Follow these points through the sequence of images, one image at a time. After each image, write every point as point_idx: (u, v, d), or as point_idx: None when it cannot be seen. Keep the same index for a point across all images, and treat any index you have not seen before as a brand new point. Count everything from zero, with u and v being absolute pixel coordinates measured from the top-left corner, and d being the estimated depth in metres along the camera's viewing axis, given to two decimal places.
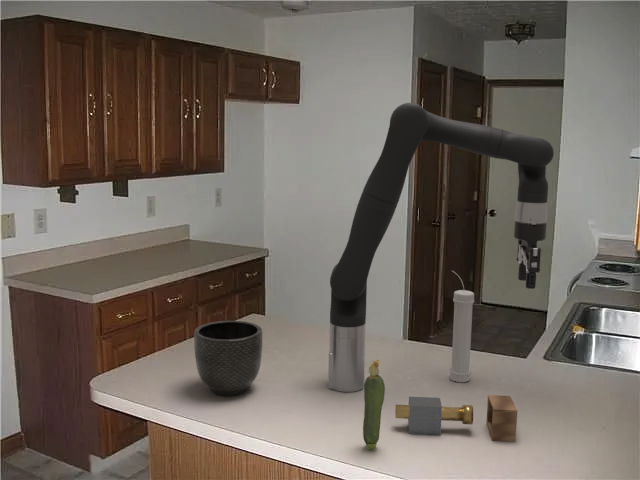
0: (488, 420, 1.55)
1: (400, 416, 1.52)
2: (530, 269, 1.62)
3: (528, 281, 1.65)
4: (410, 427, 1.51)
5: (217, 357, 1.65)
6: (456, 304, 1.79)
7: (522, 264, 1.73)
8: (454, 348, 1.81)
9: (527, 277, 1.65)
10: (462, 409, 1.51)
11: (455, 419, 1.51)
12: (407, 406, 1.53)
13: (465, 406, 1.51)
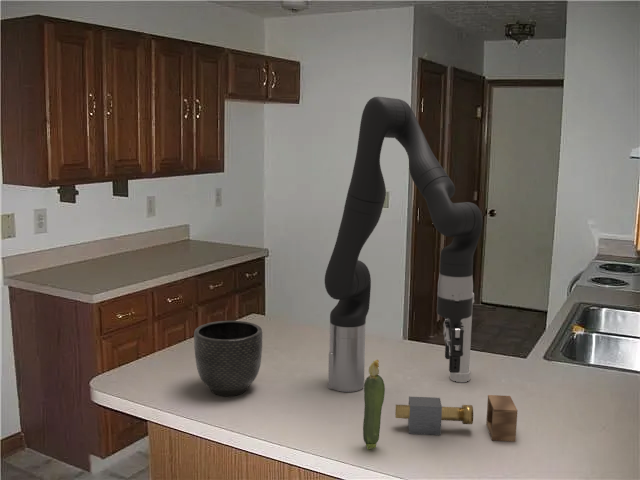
0: (488, 420, 1.55)
1: (400, 416, 1.52)
2: (452, 352, 1.43)
3: (451, 365, 1.45)
4: (410, 427, 1.51)
5: (217, 357, 1.65)
6: None
7: None
8: None
9: (450, 360, 1.46)
10: (462, 409, 1.51)
11: (455, 419, 1.51)
12: (407, 406, 1.53)
13: (465, 406, 1.51)
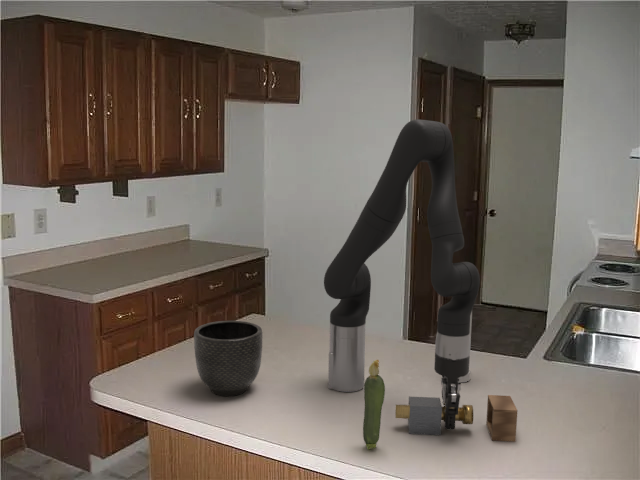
0: (488, 420, 1.55)
1: (400, 416, 1.52)
2: (447, 412, 1.48)
3: (447, 422, 1.50)
4: (410, 427, 1.51)
5: (217, 357, 1.65)
6: None
7: None
8: None
9: (446, 417, 1.50)
10: (462, 409, 1.51)
11: (455, 419, 1.51)
12: (407, 406, 1.53)
13: (465, 406, 1.51)
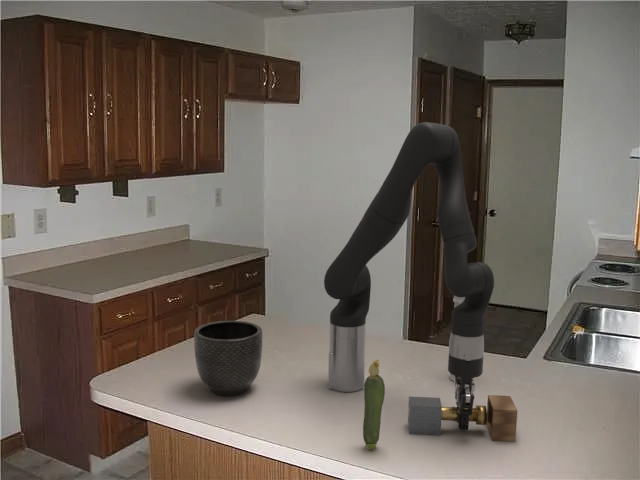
0: (488, 420, 1.55)
1: None
2: (461, 413, 1.47)
3: (460, 422, 1.50)
4: (410, 427, 1.51)
5: (217, 357, 1.65)
6: (456, 304, 1.79)
7: None
8: None
9: (459, 418, 1.50)
10: (475, 410, 1.51)
11: None
12: None
13: (478, 407, 1.51)
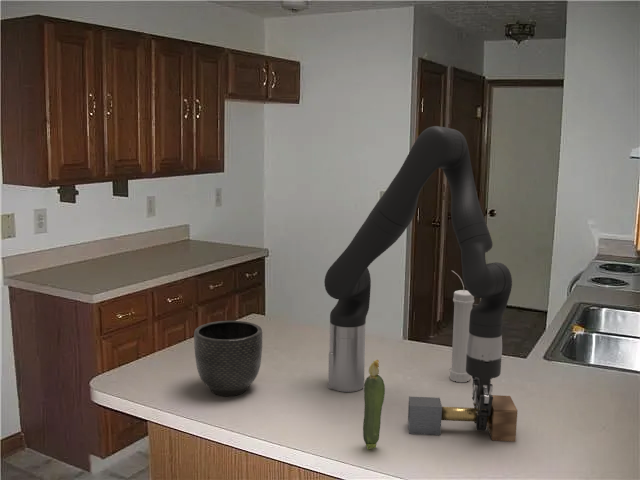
0: None
1: None
2: (479, 414, 1.47)
3: (478, 423, 1.50)
4: (410, 427, 1.51)
5: (217, 357, 1.65)
6: (456, 304, 1.79)
7: None
8: (454, 348, 1.81)
9: (477, 419, 1.50)
10: None
11: None
12: None
13: None
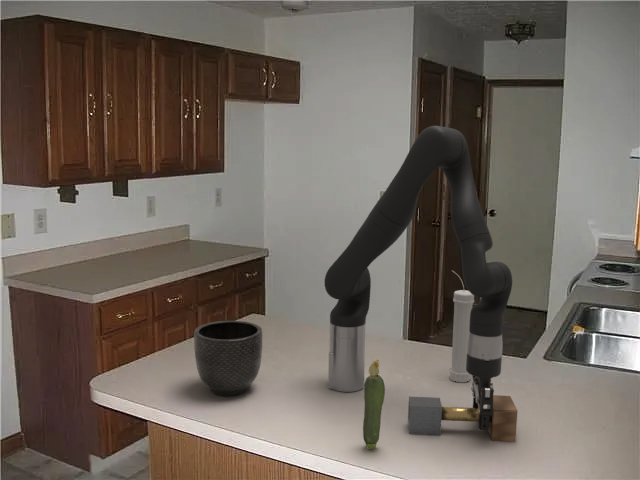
0: None
1: None
2: (482, 412, 1.44)
3: (481, 423, 1.47)
4: (410, 427, 1.51)
5: (217, 357, 1.65)
6: (456, 304, 1.79)
7: None
8: (454, 348, 1.81)
9: (479, 418, 1.47)
10: None
11: None
12: None
13: None
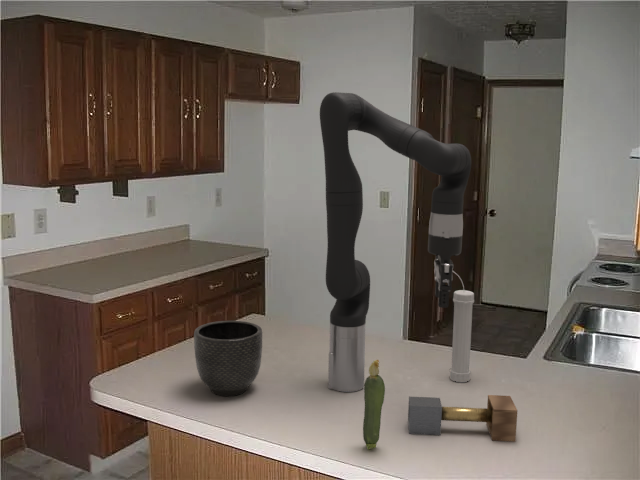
0: None
1: None
2: (441, 287, 1.49)
3: (440, 299, 1.51)
4: (410, 427, 1.51)
5: (217, 357, 1.65)
6: (456, 304, 1.79)
7: None
8: (454, 348, 1.81)
9: (439, 295, 1.52)
10: None
11: (486, 420, 1.51)
12: None
13: None
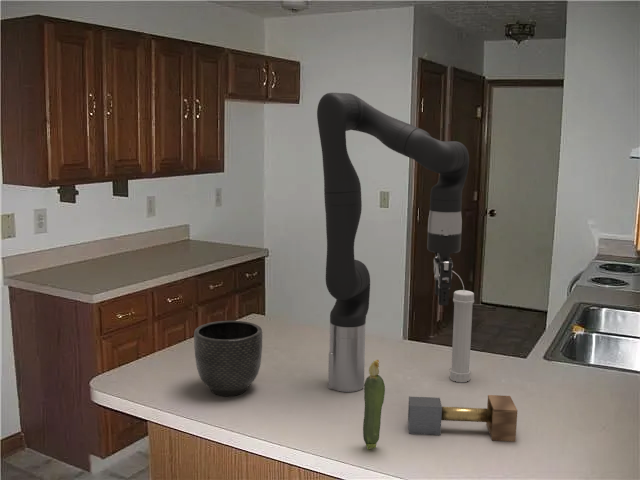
0: None
1: None
2: (441, 284, 1.49)
3: (440, 297, 1.51)
4: (410, 427, 1.51)
5: (217, 357, 1.65)
6: (456, 304, 1.79)
7: None
8: (454, 348, 1.81)
9: (439, 293, 1.52)
10: None
11: (486, 420, 1.51)
12: None
13: None
